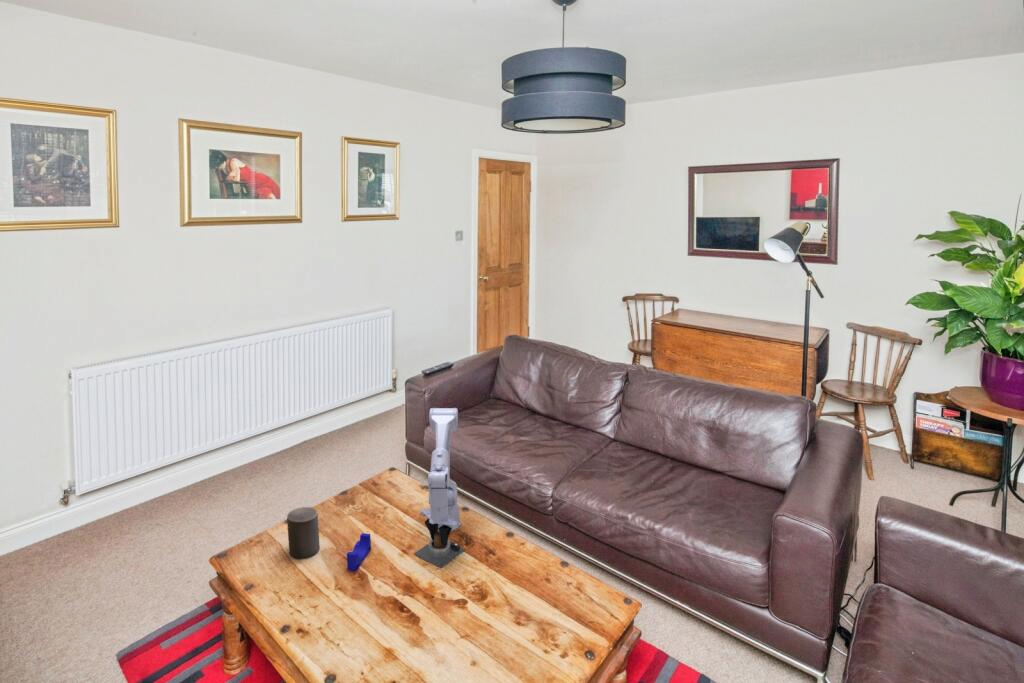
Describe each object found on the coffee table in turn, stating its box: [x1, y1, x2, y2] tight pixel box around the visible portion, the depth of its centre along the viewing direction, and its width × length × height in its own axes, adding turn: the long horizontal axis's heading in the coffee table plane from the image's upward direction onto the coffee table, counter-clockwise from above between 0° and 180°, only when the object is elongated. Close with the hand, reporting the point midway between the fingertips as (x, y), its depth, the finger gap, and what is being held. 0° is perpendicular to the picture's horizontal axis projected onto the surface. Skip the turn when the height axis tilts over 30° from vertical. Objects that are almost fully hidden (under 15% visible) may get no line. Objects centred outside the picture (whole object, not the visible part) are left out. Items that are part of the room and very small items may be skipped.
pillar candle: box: [286, 506, 321, 560], centre depth 196 cm, size 10×10×15 cm
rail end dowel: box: [434, 531, 444, 548], centre depth 197 cm, size 4×4×6 cm
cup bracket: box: [413, 538, 466, 569], centre depth 197 cm, size 12×12×4 cm
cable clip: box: [346, 532, 372, 572], centre depth 193 cm, size 12×4×6 cm, turn 171°
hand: (439, 541), depth 197 cm, fingers open, 4 cm apart
